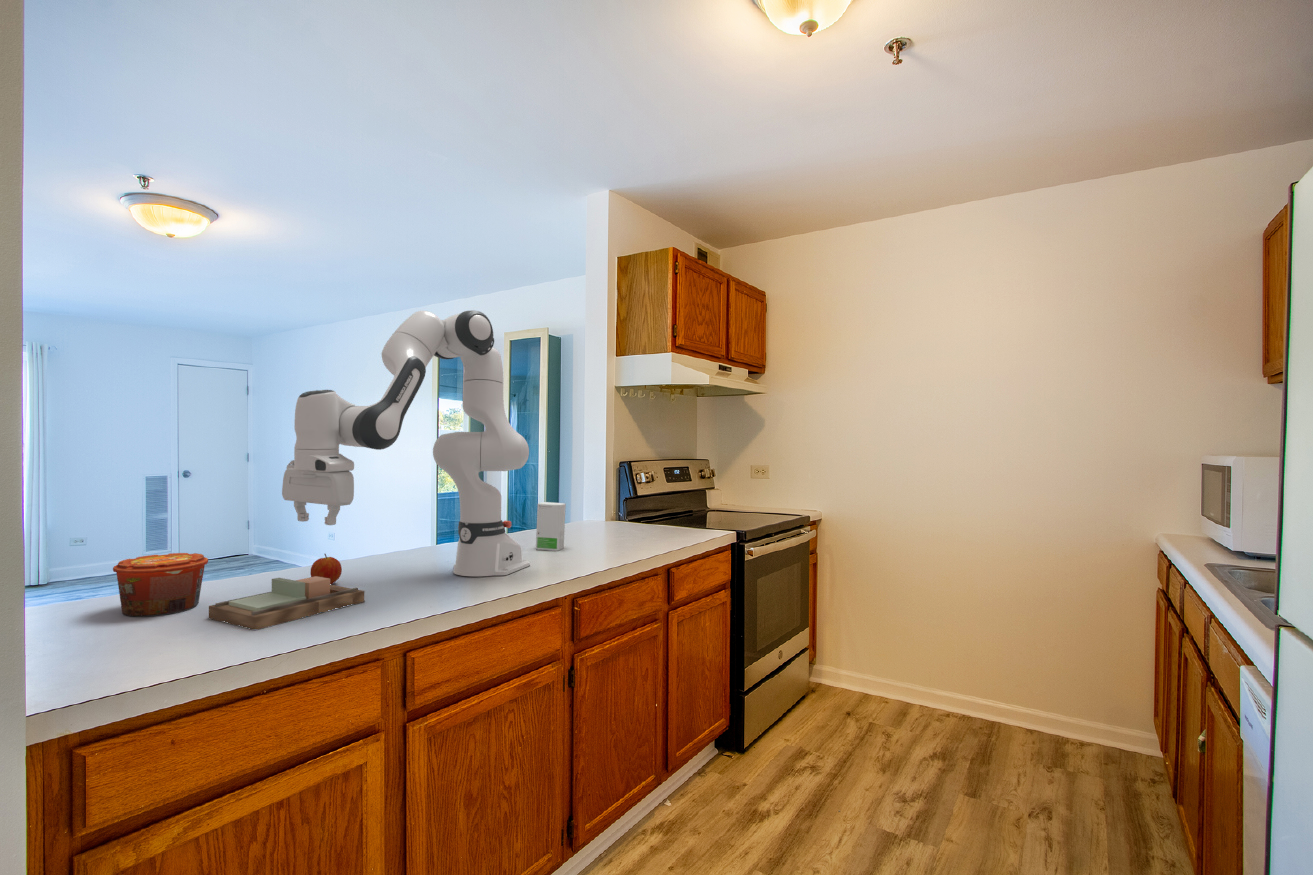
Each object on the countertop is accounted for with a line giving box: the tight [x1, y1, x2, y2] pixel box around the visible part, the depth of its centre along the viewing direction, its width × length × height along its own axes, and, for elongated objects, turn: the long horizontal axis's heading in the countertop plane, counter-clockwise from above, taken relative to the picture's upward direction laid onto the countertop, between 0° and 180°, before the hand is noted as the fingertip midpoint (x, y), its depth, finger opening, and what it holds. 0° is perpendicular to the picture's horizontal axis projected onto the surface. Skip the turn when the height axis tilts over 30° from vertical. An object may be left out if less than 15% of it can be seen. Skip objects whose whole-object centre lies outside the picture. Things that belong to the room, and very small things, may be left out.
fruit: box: [310, 553, 343, 585], centre depth 156 cm, size 7×7×8 cm
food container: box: [112, 552, 209, 618], centre depth 133 cm, size 16×16×11 cm
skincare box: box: [535, 501, 567, 552], centre depth 211 cm, size 8×7×16 cm
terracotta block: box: [295, 576, 330, 599], centre depth 138 cm, size 5×5×5 cm
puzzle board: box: [208, 584, 365, 630], centre depth 134 cm, size 24×16×3 cm, turn 153°
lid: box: [228, 577, 306, 611], centre depth 130 cm, size 10×10×4 cm
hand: (316, 522), depth 140 cm, fingers open, 8 cm apart
